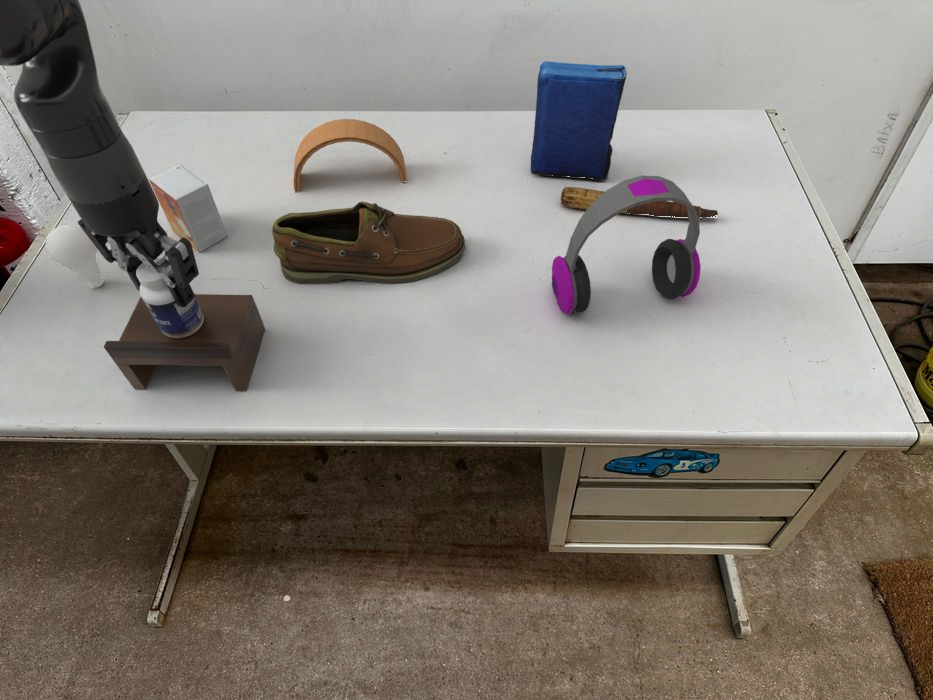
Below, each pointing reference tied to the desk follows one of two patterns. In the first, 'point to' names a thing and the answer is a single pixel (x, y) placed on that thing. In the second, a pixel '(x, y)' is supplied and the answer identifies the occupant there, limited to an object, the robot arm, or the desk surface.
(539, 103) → the book
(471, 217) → the desk surface
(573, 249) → the headphones
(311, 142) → the arch
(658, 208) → the hand tool
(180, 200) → the small box
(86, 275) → the lightbulb
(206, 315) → the shelf
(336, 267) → the boat shoe
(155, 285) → the pill bottle
